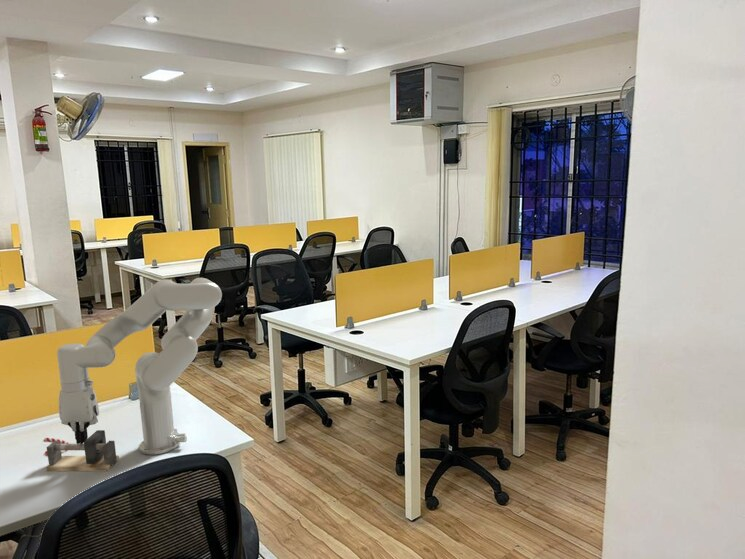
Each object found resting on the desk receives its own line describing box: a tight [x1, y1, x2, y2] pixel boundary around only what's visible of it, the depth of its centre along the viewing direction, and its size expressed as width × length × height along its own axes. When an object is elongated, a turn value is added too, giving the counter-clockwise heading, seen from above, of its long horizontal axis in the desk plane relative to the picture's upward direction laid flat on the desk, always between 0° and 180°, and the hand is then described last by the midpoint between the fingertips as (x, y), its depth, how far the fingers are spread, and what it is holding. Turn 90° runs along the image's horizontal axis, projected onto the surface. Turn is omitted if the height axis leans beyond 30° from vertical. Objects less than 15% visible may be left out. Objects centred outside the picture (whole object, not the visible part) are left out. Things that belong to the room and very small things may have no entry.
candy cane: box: [43, 437, 70, 457], centre depth 181 cm, size 8×1×15 cm
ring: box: [83, 429, 107, 464], centre depth 167 cm, size 2×8×7 cm, turn 178°
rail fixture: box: [45, 440, 120, 472], centre depth 168 cm, size 19×7×7 cm, turn 88°
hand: (82, 441), depth 167 cm, fingers closed
